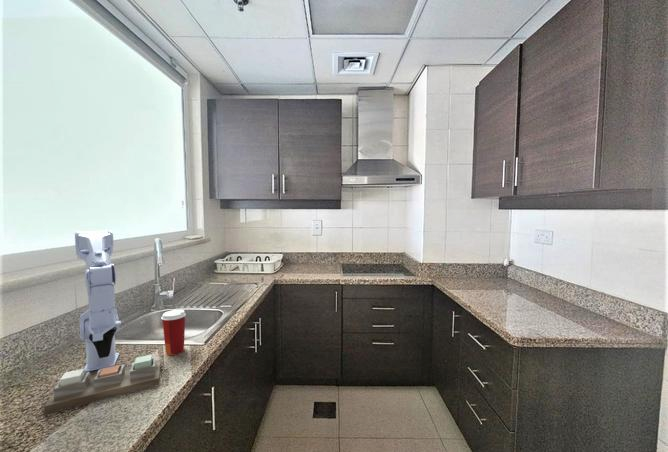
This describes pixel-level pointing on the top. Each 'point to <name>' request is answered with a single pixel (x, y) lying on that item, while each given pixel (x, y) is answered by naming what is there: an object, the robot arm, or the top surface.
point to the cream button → (72, 377)
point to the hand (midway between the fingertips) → (104, 356)
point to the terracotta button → (110, 371)
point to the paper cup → (174, 331)
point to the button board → (103, 386)
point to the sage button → (143, 362)
